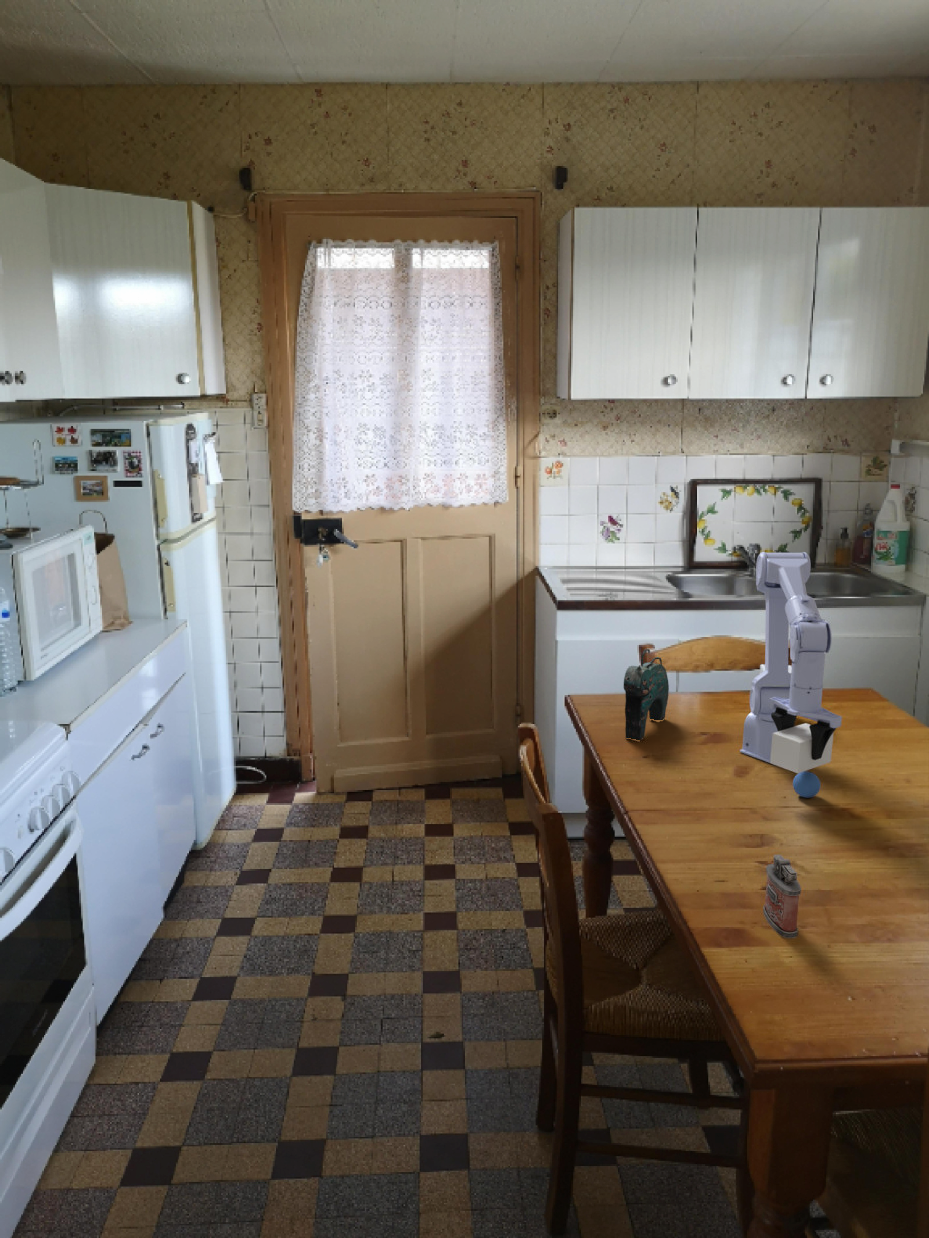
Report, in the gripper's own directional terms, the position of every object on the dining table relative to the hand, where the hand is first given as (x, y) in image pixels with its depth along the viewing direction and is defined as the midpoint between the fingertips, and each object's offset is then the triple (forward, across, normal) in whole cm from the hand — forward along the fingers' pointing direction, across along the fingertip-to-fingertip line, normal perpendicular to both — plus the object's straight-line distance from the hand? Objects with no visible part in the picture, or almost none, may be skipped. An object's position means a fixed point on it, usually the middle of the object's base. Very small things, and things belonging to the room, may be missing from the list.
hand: (801, 753), depth 181 cm
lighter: (+10, +26, -39) cm, 48 cm away
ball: (+7, 0, +2) cm, 7 cm away
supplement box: (+10, -32, +34) cm, 48 cm away
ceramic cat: (+10, -45, +4) cm, 46 cm away
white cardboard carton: (+2, 0, 0) cm, 2 cm away
